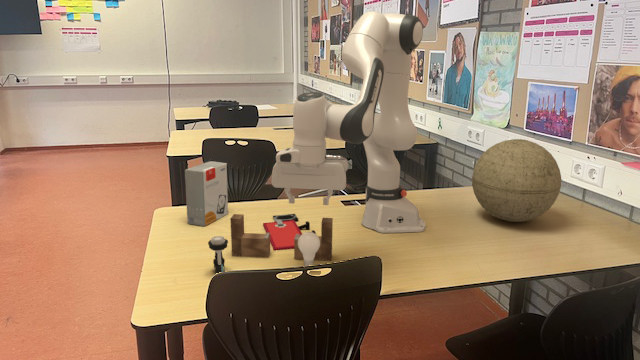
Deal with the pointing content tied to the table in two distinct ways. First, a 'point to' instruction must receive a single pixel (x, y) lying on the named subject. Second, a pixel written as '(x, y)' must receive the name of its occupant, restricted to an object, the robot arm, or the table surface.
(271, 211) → the table surface
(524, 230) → the table surface
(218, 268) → the push button
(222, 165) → the hard drive box
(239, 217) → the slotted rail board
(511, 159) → the mottled brown seamed ball
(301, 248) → the lightbulb
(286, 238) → the red board with handle
